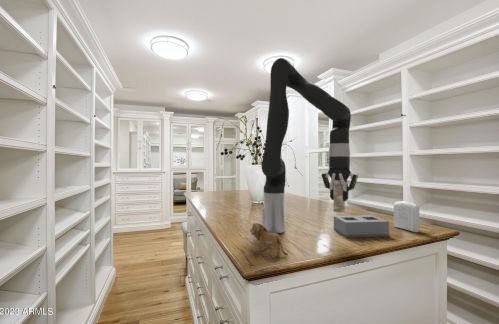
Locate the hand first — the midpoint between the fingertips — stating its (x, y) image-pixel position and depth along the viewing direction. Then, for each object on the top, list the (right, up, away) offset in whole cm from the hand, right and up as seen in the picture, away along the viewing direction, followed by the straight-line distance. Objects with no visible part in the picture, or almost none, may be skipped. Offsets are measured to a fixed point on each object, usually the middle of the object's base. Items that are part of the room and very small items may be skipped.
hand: (339, 200), depth 90 cm
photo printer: (+36, -16, +15) cm, 42 cm away
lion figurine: (-28, -16, -10) cm, 34 cm away
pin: (0, -4, 0) cm, 4 cm away
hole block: (+13, -16, +11) cm, 23 cm away
